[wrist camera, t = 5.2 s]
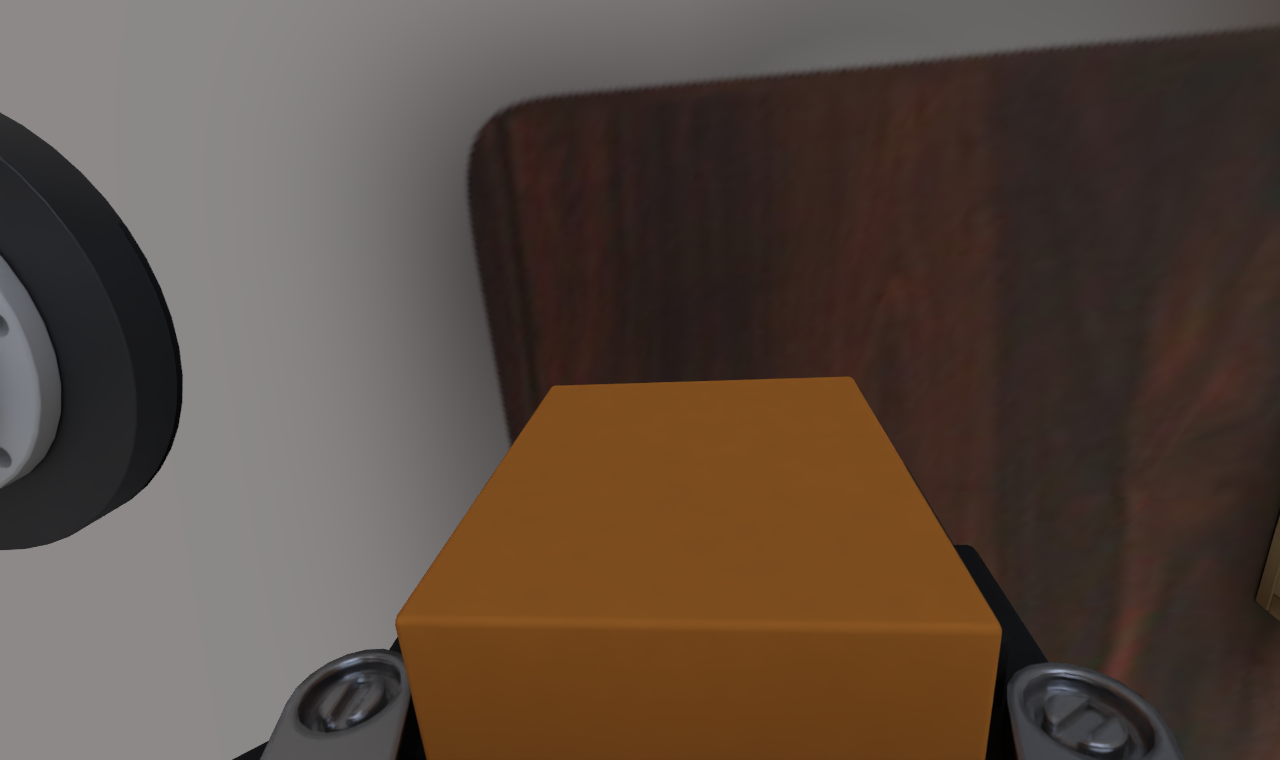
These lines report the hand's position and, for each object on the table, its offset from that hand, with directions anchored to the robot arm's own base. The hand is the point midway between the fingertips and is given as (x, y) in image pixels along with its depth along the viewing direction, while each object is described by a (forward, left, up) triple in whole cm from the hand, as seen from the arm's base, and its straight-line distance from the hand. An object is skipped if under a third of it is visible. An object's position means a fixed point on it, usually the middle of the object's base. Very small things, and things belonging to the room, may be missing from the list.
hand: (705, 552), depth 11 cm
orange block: (0, 0, 0) cm, 0 cm away
